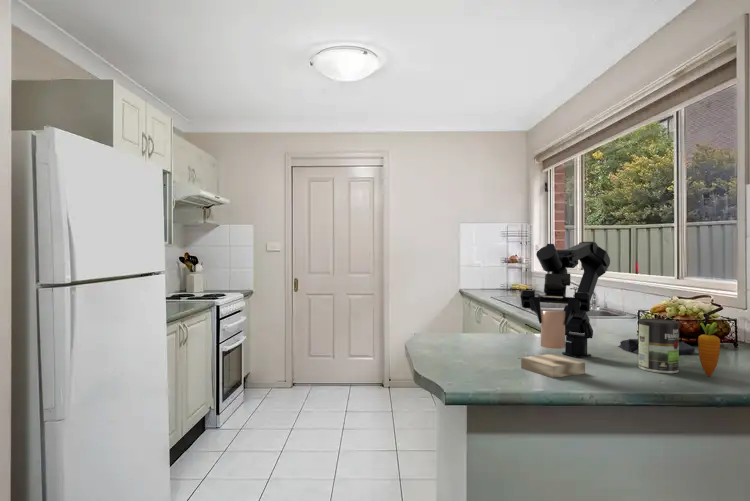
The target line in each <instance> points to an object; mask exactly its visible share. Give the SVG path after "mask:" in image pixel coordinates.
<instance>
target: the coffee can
mask: <svg viewBox="0 0 750 501" xmlns="http://www.w3.org/2000/svg"><path fill="white" fill-rule="evenodd" d="M637 320H638V339H639V354H638V366H637V367H638V368H639V369H640V370H643V371H646V372H652V373H659V374H678V373H680V371H679V368H680V365H679V364H680V362H679V360H680V359H679V358H680V357H679V356H680V354H679V342H680V324H681V323H680V321H677V320H674V319H673V320H671V319H665V318H664V319H663V318H639V319H637Z"/></svg>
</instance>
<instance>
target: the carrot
mask: <svg viewBox="0 0 750 501" xmlns="http://www.w3.org/2000/svg"><path fill="white" fill-rule="evenodd" d="M699 325H700V326H701V328H702V330H703V331H704V334H700V335H699V336H698V339H697V344H698V345H697V347H698V355H699V362H700V365H701V368H702V370H703V372H704V374H705V375H706V376H707V377H711V376H712V375H713V373H714V372H715V370H716V369H717V366H718V364H719V363H718V362H719V358H720V351H721V350H720V349H721V339H720V338H719V337H718V336H716V335H715V333H716V332H718V329H716V327H717V325H718V324H717V322H715V321H714V322H712V324H709V323H707V324H706V326H705V324H704V322H700V323H699Z"/></svg>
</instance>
